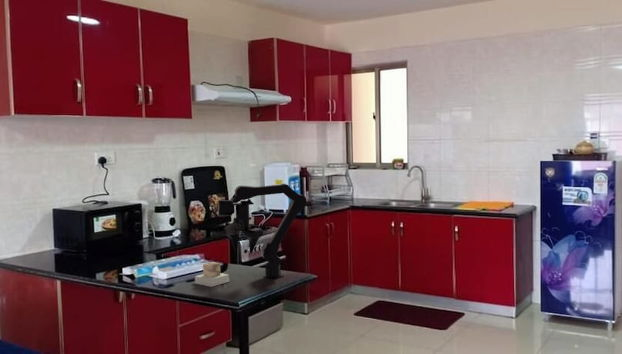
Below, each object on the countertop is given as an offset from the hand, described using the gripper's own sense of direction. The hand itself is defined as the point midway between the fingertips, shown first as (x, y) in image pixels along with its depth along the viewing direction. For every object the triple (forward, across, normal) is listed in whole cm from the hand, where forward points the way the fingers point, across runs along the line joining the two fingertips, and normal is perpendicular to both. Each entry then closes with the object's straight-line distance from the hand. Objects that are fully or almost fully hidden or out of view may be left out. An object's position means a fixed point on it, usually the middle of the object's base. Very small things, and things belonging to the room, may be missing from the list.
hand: (243, 251), depth 247 cm
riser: (+12, -7, -12) cm, 18 cm away
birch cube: (+9, -7, -12) cm, 17 cm away
